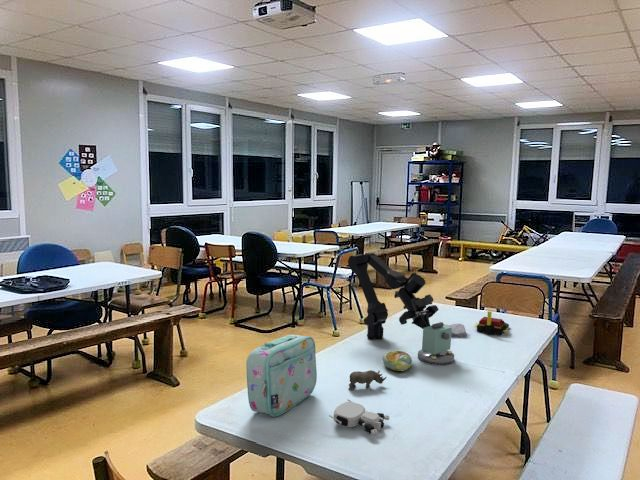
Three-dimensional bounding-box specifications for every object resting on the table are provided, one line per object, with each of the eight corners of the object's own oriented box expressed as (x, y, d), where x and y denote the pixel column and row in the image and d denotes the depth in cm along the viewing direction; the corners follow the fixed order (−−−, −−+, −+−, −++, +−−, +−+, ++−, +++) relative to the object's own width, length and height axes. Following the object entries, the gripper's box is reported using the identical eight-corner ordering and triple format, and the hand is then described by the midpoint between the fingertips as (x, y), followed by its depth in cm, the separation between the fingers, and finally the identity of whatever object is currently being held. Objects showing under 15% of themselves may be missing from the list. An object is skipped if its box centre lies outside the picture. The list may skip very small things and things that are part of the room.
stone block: (467, 341, 228) (463, 330, 238) (468, 331, 227) (463, 321, 236) (440, 341, 229) (437, 330, 239) (441, 331, 228) (438, 321, 237)
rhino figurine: (388, 388, 173) (389, 371, 172) (349, 391, 170) (350, 374, 169) (384, 383, 177) (384, 366, 176) (346, 386, 174) (346, 369, 173)
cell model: (414, 355, 198) (414, 353, 184) (408, 374, 197) (408, 374, 182) (387, 346, 201) (385, 344, 186) (381, 366, 199) (379, 365, 185)
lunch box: (270, 425, 146) (270, 354, 143) (243, 416, 151) (242, 347, 149) (319, 392, 168) (320, 330, 166) (294, 386, 174) (294, 325, 171)
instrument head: (421, 349, 199) (423, 323, 198) (438, 344, 205) (439, 319, 204) (438, 356, 193) (440, 328, 191) (454, 350, 199) (456, 324, 198)
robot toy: (390, 425, 149) (345, 410, 156) (392, 411, 148) (346, 396, 155) (374, 444, 138) (326, 427, 145) (376, 429, 137) (327, 412, 144)
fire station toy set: (471, 333, 235) (472, 309, 234) (483, 322, 252) (484, 301, 251) (504, 338, 228) (505, 314, 226) (513, 327, 244) (514, 305, 243)
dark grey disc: (410, 357, 202) (410, 350, 201) (433, 350, 210) (433, 343, 210) (438, 368, 191) (439, 361, 190) (461, 360, 199) (461, 353, 199)
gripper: (404, 291, 198) (426, 325, 191) (435, 285, 210) (457, 316, 202) (389, 308, 205) (410, 340, 198) (420, 301, 217) (440, 331, 209)
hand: (430, 332), depth 202 cm, fingers closed
